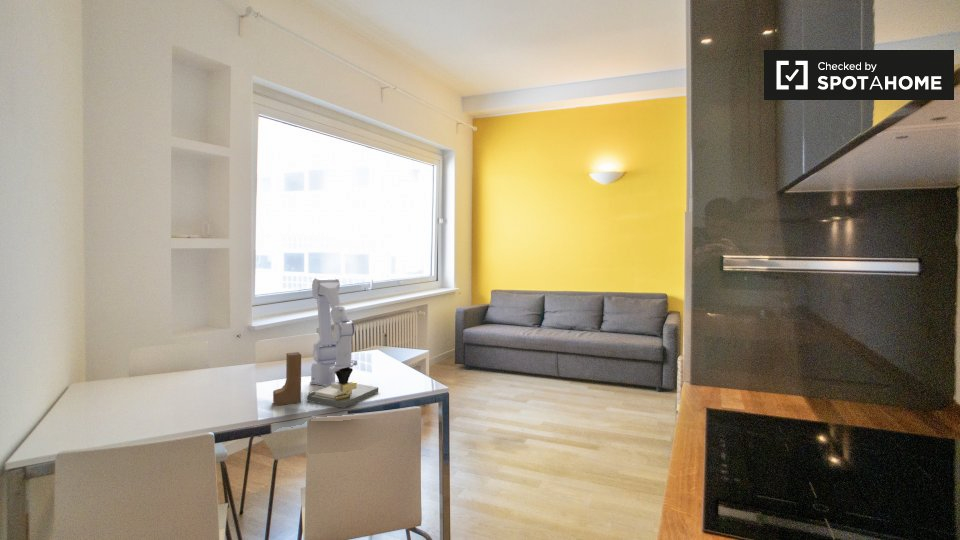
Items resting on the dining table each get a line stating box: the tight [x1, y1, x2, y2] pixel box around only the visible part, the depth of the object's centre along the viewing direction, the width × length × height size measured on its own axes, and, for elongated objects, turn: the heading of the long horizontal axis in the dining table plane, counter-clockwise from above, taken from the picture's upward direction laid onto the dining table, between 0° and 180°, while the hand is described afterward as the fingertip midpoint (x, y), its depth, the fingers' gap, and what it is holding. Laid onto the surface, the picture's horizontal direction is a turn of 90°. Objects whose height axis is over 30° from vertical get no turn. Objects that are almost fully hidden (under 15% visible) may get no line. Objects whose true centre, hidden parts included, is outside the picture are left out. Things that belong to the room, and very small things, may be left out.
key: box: [334, 381, 358, 400], centre depth 185 cm, size 8×1×5 cm, turn 138°
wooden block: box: [272, 351, 302, 406], centre depth 184 cm, size 9×4×18 cm, turn 121°
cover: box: [314, 383, 352, 398], centre depth 190 cm, size 10×9×2 cm
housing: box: [306, 381, 379, 409], centre depth 193 cm, size 17×21×3 cm
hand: (343, 387), depth 195 cm, fingers closed
